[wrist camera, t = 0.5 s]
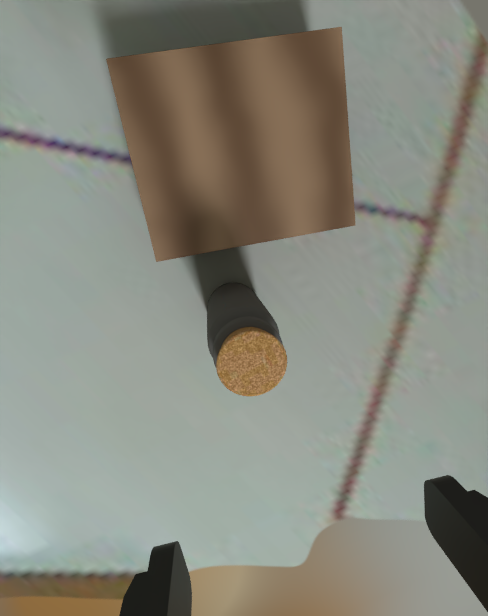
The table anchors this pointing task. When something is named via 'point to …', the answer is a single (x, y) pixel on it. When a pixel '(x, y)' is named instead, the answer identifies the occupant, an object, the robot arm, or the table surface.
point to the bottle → (244, 341)
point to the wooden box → (238, 140)
